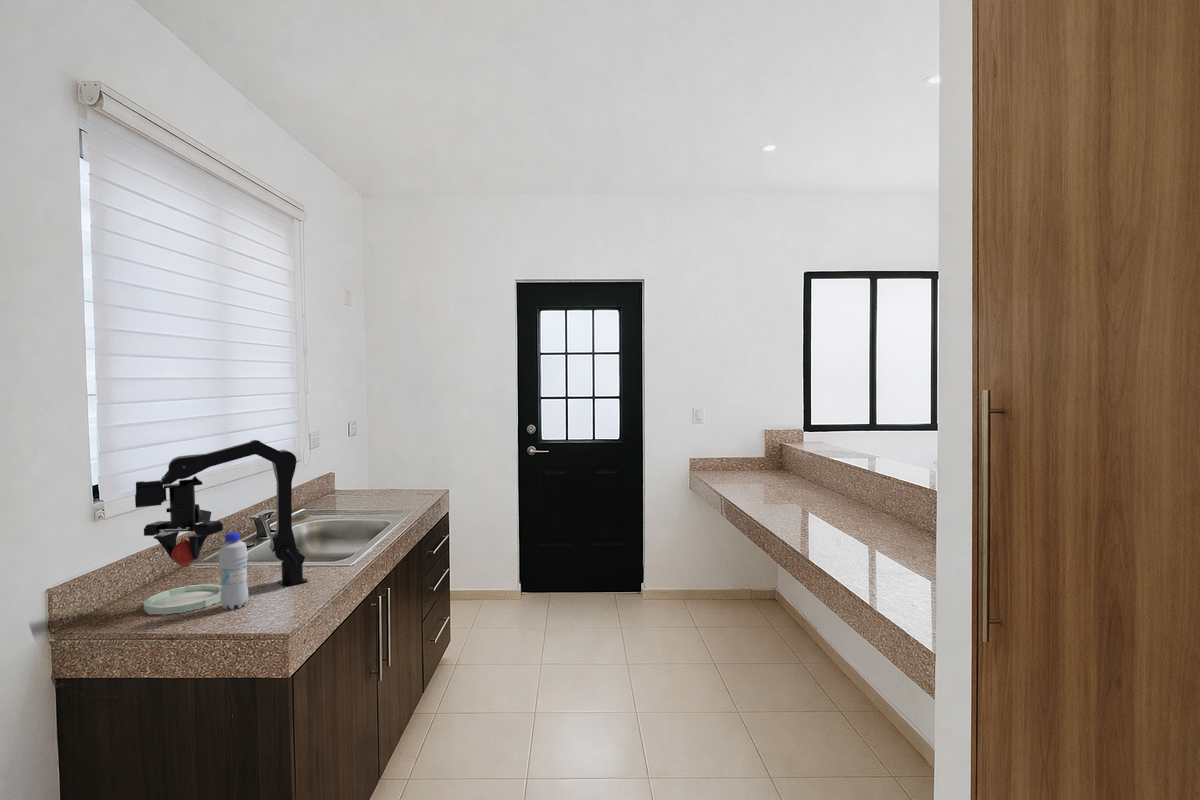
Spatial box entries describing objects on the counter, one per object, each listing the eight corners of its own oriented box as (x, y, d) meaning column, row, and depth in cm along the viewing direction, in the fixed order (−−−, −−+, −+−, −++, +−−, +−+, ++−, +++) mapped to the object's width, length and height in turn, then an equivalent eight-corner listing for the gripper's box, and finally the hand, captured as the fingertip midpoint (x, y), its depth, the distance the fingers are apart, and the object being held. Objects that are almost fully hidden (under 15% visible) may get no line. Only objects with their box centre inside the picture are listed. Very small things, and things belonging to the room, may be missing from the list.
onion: (180, 564, 170) (179, 535, 170) (202, 563, 170) (201, 534, 170) (167, 570, 164) (166, 540, 164) (189, 569, 165) (188, 540, 164)
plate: (233, 601, 168) (233, 593, 168) (153, 620, 155) (153, 612, 155) (214, 586, 180) (213, 580, 180) (138, 603, 167) (138, 596, 167)
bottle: (228, 613, 159) (226, 536, 158) (215, 608, 163) (212, 533, 162) (254, 604, 165) (252, 531, 164) (241, 600, 168) (238, 528, 168)
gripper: (234, 496, 174) (236, 551, 175) (172, 497, 175) (174, 551, 176) (207, 504, 163) (209, 562, 164) (140, 505, 164) (143, 562, 165)
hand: (184, 559), depth 167 cm, fingers closed on onion, 6 cm apart
